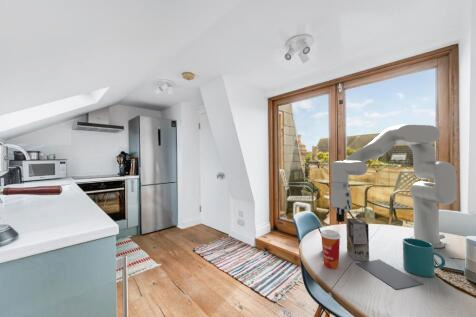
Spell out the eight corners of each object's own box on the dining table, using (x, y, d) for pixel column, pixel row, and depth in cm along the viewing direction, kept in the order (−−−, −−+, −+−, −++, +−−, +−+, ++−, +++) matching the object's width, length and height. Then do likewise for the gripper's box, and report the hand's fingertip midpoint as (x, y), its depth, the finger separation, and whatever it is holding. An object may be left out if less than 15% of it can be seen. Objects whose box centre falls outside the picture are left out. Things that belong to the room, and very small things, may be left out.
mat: (379, 260, 86) (379, 259, 86) (423, 284, 69) (423, 283, 69) (356, 263, 83) (356, 263, 83) (396, 289, 67) (396, 288, 67)
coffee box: (370, 261, 85) (369, 224, 85) (353, 260, 86) (352, 223, 86) (361, 251, 94) (360, 218, 94) (346, 250, 95) (345, 217, 95)
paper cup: (317, 261, 86) (317, 229, 86) (334, 260, 87) (333, 228, 87) (327, 271, 78) (326, 236, 78) (345, 270, 79) (344, 235, 79)
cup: (447, 284, 69) (447, 252, 69) (403, 272, 77) (402, 243, 77) (443, 272, 76) (443, 243, 76) (403, 262, 83) (402, 236, 83)
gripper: (358, 187, 93) (358, 225, 93) (336, 183, 108) (336, 216, 108) (344, 187, 92) (345, 226, 92) (324, 183, 106) (324, 217, 106)
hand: (340, 221), depth 100 cm, fingers closed
